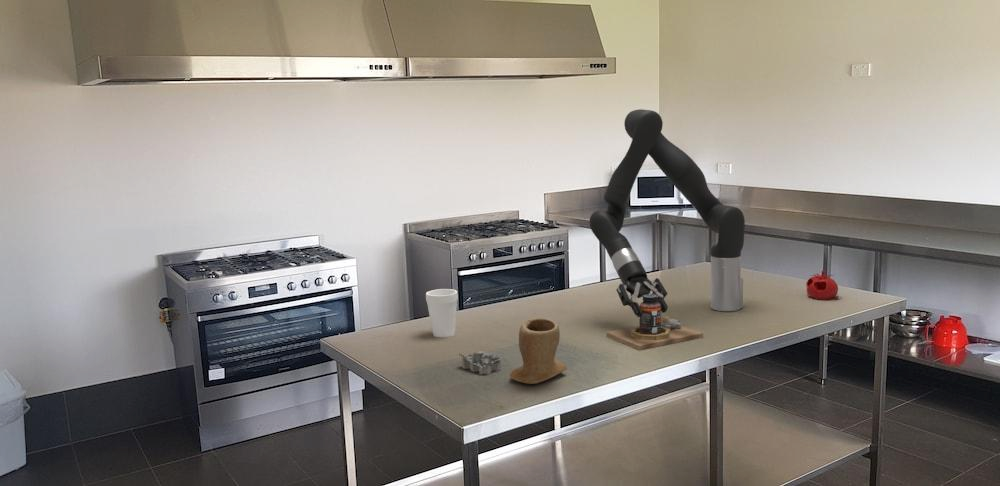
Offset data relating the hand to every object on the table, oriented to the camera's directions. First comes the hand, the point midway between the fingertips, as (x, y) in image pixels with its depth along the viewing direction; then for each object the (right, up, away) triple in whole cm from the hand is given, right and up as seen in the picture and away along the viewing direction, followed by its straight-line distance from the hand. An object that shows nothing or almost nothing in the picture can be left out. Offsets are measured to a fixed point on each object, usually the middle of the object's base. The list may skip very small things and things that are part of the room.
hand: (653, 313), depth 219 cm
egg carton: (-48, -13, -16) cm, 52 cm away
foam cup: (-60, -8, +16) cm, 63 cm away
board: (+1, -7, +4) cm, 8 cm away
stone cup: (-33, -14, -26) cm, 44 cm away
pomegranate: (+64, +1, +40) cm, 76 cm away
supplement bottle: (0, -6, +2) cm, 7 cm away
